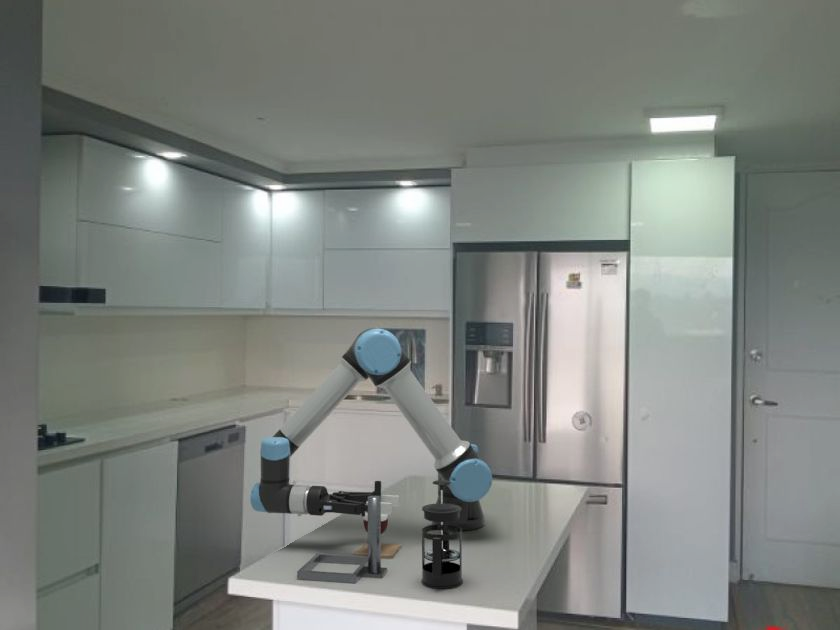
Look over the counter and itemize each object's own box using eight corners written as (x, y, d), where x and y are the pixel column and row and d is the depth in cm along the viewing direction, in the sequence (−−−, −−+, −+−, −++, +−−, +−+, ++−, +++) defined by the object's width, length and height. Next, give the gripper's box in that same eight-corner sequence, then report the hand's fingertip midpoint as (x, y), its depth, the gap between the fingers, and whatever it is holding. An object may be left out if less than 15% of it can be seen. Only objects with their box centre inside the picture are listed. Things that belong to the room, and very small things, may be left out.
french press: (426, 573, 186) (426, 475, 186) (466, 575, 184) (465, 476, 184) (415, 590, 175) (415, 486, 174) (457, 593, 173) (457, 488, 172)
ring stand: (391, 565, 192) (391, 490, 192) (377, 584, 178) (376, 504, 178) (317, 560, 196) (316, 487, 196) (297, 579, 182) (296, 501, 182)
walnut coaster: (401, 546, 207) (401, 544, 207) (392, 558, 197) (392, 556, 197) (364, 544, 209) (364, 542, 209) (354, 556, 199) (354, 553, 199)
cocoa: (378, 540, 197) (379, 492, 196) (356, 535, 199) (357, 488, 198) (395, 528, 205) (396, 483, 204) (374, 524, 208) (375, 479, 207)
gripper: (322, 505, 216) (404, 510, 212) (296, 524, 197) (385, 530, 192) (322, 477, 216) (404, 481, 212) (296, 494, 197) (385, 499, 192)
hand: (395, 504), depth 202 cm, fingers closed on cocoa, 7 cm apart
